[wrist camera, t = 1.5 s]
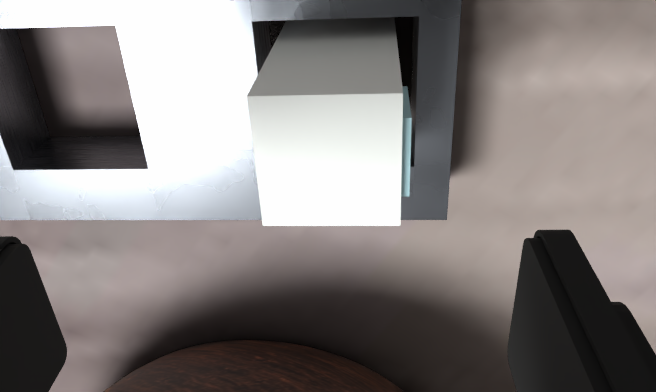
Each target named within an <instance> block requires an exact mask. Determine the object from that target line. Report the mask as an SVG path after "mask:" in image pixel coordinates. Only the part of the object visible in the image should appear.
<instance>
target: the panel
mask: <svg viewBox="0 0 656 392" xmlns="http://www.w3.org/2000/svg"><path fill="white" fill-rule="evenodd" d="M461 3H462V0H0V219H1V220H262V216H261V207H260V199H259V191H258V183H257V175H256V167H255V159H254V151H253V143H252V135H251V127H250V118H249V110H248V102H247V95H248V93H249V91H250V89H251V87H252V85H253V83H254V81H255V80H256V78H257V76H258V74H259V72H260V70H261V68H262V66H263V64H264V62H265V60H266V59H267V57H268V55H269V53H270V51H271V41H270V31H269V21H278V20H312V19H345V18H379V17H412V16H413V46H412V83H411V117H412V123H411V158H410V193H409V196H401V220H447V209H448V194H449V180H450V165H451V150H452V135H453V121H454V106H455V91H456V76H457V62H458V47H459V32H460V18H461ZM110 25H115V26H116V30H117V35H118V39H119V43H120V48H121V52H122V56H123V61H124V65H125V69H126V74H127V78H128V82H129V87H130V91H131V96H132V100H133V104H134V109H135V113H136V117H137V122H138V126H139V130H140V135H141V136H114V137H50V135H49V132H48V129H47V126H46V122H45V119H44V116H43V113H42V110H41V107H40V103H39V100H38V97H37V94H36V91H35V88H34V84H33V81H32V78H31V75H30V72H29V69H28V65H27V62H26V59H25V56H24V53H23V50H22V46H21V43H20V40H19V37H18V34H17V31H16V28H43V27H76V26H110Z"/></svg>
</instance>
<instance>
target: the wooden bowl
mask: <svg viewBox="0 0 656 392" xmlns="http://www.w3.org/2000/svg"><path fill="white" fill-rule="evenodd" d="M104 392H404V391H402V390H401V389H400V388H398V387H397V386H396V385H395V384H393V383H392V382H390V381H389V380H387V379H386V378H384V377H383V376H381V375H379V374H378V373H376V372H374V371H372V370H370V369H368V368H366V367H364V366H363V365H361V364H358V363H356V362H353V361H351V360H349V359H346V358H344V357H341V356H338V355H335V354H332V353H329V352H326V351H323V350H319V349H315V348H311V347H307V346H302V345H297V344H291V343H284V342H275V341H262V340H234V341H222V342H213V343H207V344H202V345H197V346H192V347H188V348H185V349H181V350H178V351H175V352H172V353H170V354H167V355H165V356H162V357H160V358H158V359H156V360H154V361H152V362H150V363H148V364H146V365H144V366H142V367H140V368H138V369H136V370H134V371H133V372H131V373H130V374H128V375H127V376H125V377H124V378H122V379H121V380H119V381H118V382H116V383H115V384H114V385H112V386H111V387H109V388H108V389H107V390H105V391H104Z"/></svg>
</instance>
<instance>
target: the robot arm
mask: <svg viewBox="0 0 656 392" xmlns="http://www.w3.org/2000/svg"><path fill="white" fill-rule="evenodd" d="M66 356H67V347H66V343H65V341H64V338H63V335H62V333H61V330H60V327H59V325H58V322H57V320H56V317H55V314H54V312H53V309H52V306H51V304H50V301H49V298H48V296H47V293H46V291H45V288H44V285H43V283H42V280H41V277H40V275H39V272H38V269H37V267H36V264H35V262H34V259H33V256H32V254H31V251H30V249H29V247H28V246H27V245H25V244H22V243H21V241H20V240H19V239H18V238H16V237H13V236H11V237H0V392H48V391H49V390H50V388H51V386H52V384H53V383H54V381H55V379H56V377H57V376H58V374H59V372H60V370H61V369H62V367H63V365H64V363H65V360H66ZM508 361H509V366H510V369H511V373H512V376H513V380H514V383H515V387H516V390H517V392H656V355H655V353H654V351H653V349H652V348H651V346H650V344H649V343H648V341H647V339H646V337H645V336H644V334H643V332H642V331H641V329H640V327H639V325H638V324H637V322H636V320H635V319H634V317H633V315H632V313H631V312H630V310H629V309H628V308H627V307H626V305H624V304H623V303H621V302H611V301H610V299H609V298H608V296H607V294H606V292H605V290H604V289H603V287H602V285H601V283H600V281H599V279H598V278H597V276H596V274H595V272H594V270H593V269H592V267H591V265H590V263H589V261H588V260H587V258H586V256H585V254H584V252H583V251H582V249H581V247H580V245H579V243H578V242H577V240H576V238H575V236H574V234H573V233H572V232H571V231H570V230H537V231H536V232H535V234H534V238H526V239H525V240H524V243H523V249H522V255H521V262H520V268H519V275H518V282H517V288H516V295H515V301H514V308H513V314H512V321H511V328H510V334H509V341H508Z"/></svg>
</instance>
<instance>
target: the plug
mask: <svg viewBox="0 0 656 392" xmlns="http://www.w3.org/2000/svg"><path fill="white" fill-rule="evenodd" d="M247 102H248V110H249V118H250V127H251V135H252V143H253V151H254V159H255V167H256V175H257V183H258V191H259V199H260V207H261V216H262V224H263V226H400V224H401V196H409V193H410V158H411V123H412V117H411V110H410V102H409V95H408V88H407V86H402V79H401V71H400V62H399V53H398V45H397V36H396V27H395V19H394V17H379V18H345V19H312V20H286V22H285V24H284V26H283V28H282V30H281V32H280V34H279V36H278V37H277V39H276V41H275V43H274V45H273V47H272V49H271V51H270V53H269V55H268V57H267V59H266V60H265V62H264V64H263V66H262V68H261V70H260V72H259V74H258V76H257V78H256V80H255V81H254V83H253V85H252V87H251V89H250V91H249V93H248V95H247Z"/></svg>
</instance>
